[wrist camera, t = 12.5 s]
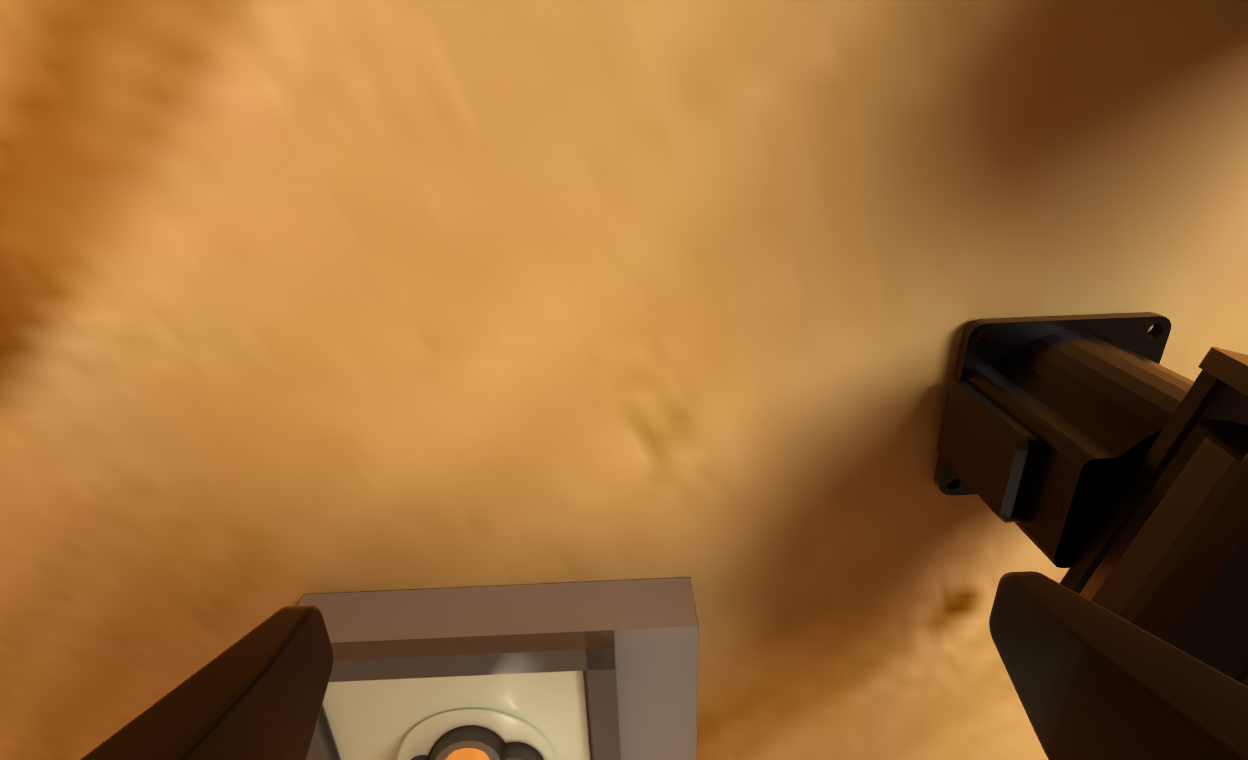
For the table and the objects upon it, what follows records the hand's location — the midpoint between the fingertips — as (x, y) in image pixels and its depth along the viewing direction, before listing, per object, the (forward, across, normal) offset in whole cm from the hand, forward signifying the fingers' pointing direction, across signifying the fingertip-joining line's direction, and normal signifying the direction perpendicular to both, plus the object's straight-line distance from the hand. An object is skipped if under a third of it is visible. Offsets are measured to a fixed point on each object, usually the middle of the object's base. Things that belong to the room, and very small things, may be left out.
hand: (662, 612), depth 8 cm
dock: (+13, +6, +16) cm, 22 cm away
